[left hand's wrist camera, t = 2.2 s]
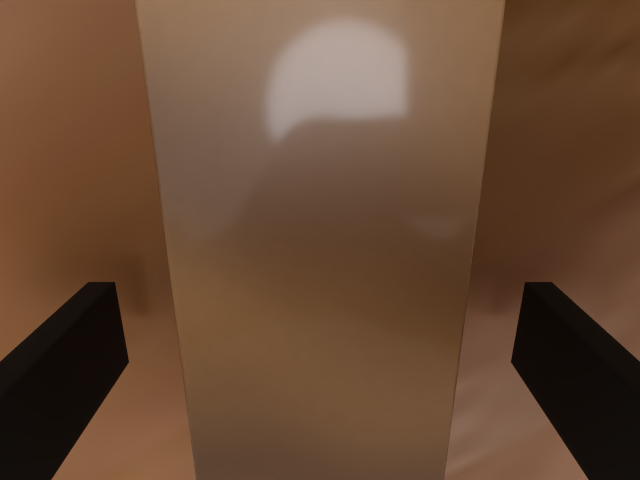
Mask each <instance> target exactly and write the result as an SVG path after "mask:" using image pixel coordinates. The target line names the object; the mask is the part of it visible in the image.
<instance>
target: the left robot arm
mask: <svg viewBox="0 0 640 480" xmlns="http://www.w3.org/2000/svg"><path fill="white" fill-rule="evenodd" d="M128 363H129V359H128V354H127V348H126V343H125V337H124V331H123V326H122V320H121V314H120V309H119V303H118V297H117V292H116V286H115V282H88V283H87V284H86V285H85V286H84V287H82V288H81V289H80V290H79V291H78V292H77V293H76V294H75V295H74V296H72V297H71V298H70V299H69V300H68V301H67V302H66V303H65V304H64V305H62V306H61V307H60V308H59V309H58V310H57V311H56V312H55V313H54V314H52V315H51V316H50V317H49V318H48V319H47V320H46V321H45V322H44V323H43V324H41V325H40V326H39V327H38V328H37V329H36V330H35V331H34V332H33V333H31V334H30V335H29V336H28V337H27V338H26V339H25V340H24V341H23V342H21V343H20V344H19V345H18V346H17V347H16V348H15V349H14V350H13V351H11V352H10V353H9V354H8V355H7V356H6V357H5V358H4V359H3V360H1V361H0V480H51V479H52V478H53V476H54V475H55V473H56V472H57V470H58V469H59V467H60V466H61V464H62V463H63V461H64V460H65V458H66V457H67V455H68V454H69V452H70V451H71V449H72V448H73V446H74V445H75V443H76V441H77V440H78V438H79V437H80V435H81V434H82V432H83V431H84V429H85V428H86V426H87V425H88V423H89V422H90V420H91V419H92V417H93V416H94V414H95V413H96V411H97V410H98V408H99V407H100V405H101V404H102V402H103V401H104V399H105V398H106V396H107V395H108V393H109V392H110V390H111V389H112V387H113V386H114V384H115V383H116V381H117V379H118V378H119V376H120V375H121V373H122V372H123V370H124V369H125V367H126V366H127V364H128ZM511 363H512V364H513V366H514V367H515V369H516V370H517V372H518V373H519V375H520V376H521V378H522V379H523V381H524V383H525V384H526V386H527V387H528V389H529V390H530V392H531V393H532V395H533V396H534V398H535V399H536V401H537V402H538V404H539V405H540V407H541V408H542V410H543V411H544V413H545V414H546V416H547V417H548V419H549V420H550V422H551V423H552V425H553V426H554V428H555V429H556V431H557V432H558V434H559V435H560V437H561V438H562V440H563V442H564V443H565V445H566V446H567V448H568V449H569V451H570V452H571V454H572V455H573V457H574V458H575V460H576V461H577V463H578V464H579V466H580V467H581V469H582V470H583V472H584V473H585V475H586V476H587V478H588V479H589V480H640V361H638V360H637V359H636V358H635V357H634V356H633V355H632V354H631V353H630V352H629V351H627V350H626V349H625V348H624V347H623V346H622V345H621V344H620V343H619V342H617V341H616V340H615V339H614V338H613V337H612V336H611V335H610V334H609V333H607V332H606V331H605V330H604V329H603V328H602V327H601V326H600V325H599V324H597V323H596V322H595V321H594V320H593V319H592V318H591V317H590V316H589V315H587V314H586V313H585V312H584V311H583V310H582V309H581V308H580V307H579V306H578V305H576V304H575V303H574V302H573V301H572V300H571V299H570V298H569V297H568V296H566V295H565V294H564V293H563V292H562V291H561V290H560V289H559V288H558V287H556V286H555V285H554V284H553V283H552V282H525V286H524V292H523V297H522V303H521V309H520V314H519V320H518V326H517V331H516V337H515V342H514V348H513V354H512V359H511Z"/></svg>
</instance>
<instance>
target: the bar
mask: <svg viewBox="0 0 640 480" xmlns="http://www.w3.org/2000/svg"><path fill="white" fill-rule="evenodd" d="M134 1H135V9H136V16H137V24H138V32H139V40H140V47H141V55H142V63H143V71H144V78H145V86H146V94H147V102H148V109H149V117H150V125H151V133H152V140H153V148H154V156H155V164H156V171H157V179H158V187H159V195H160V202H161V210H162V218H163V226H164V233H165V241H166V249H167V257H168V264H169V272H170V280H171V288H172V295H173V303H174V311H175V319H176V326H177V334H178V342H179V350H180V357H181V365H182V373H183V381H184V388H185V396H186V404H187V412H188V419H189V427H190V435H191V443H192V450H193V458H194V466H195V474H196V480H444V475H445V468H446V460H447V452H448V444H449V437H450V429H451V421H452V413H453V406H454V398H455V390H456V382H457V375H458V367H459V359H460V351H461V344H462V336H463V328H464V321H465V313H466V305H467V297H468V290H469V282H470V274H471V266H472V259H473V251H474V243H475V235H476V228H477V220H478V212H479V204H480V197H481V189H482V181H483V173H484V166H485V158H486V150H487V142H488V135H489V127H490V119H491V112H492V104H493V96H494V88H495V81H496V73H497V65H498V57H499V50H500V42H501V34H502V26H503V19H504V11H505V3H506V0H134Z"/></svg>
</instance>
